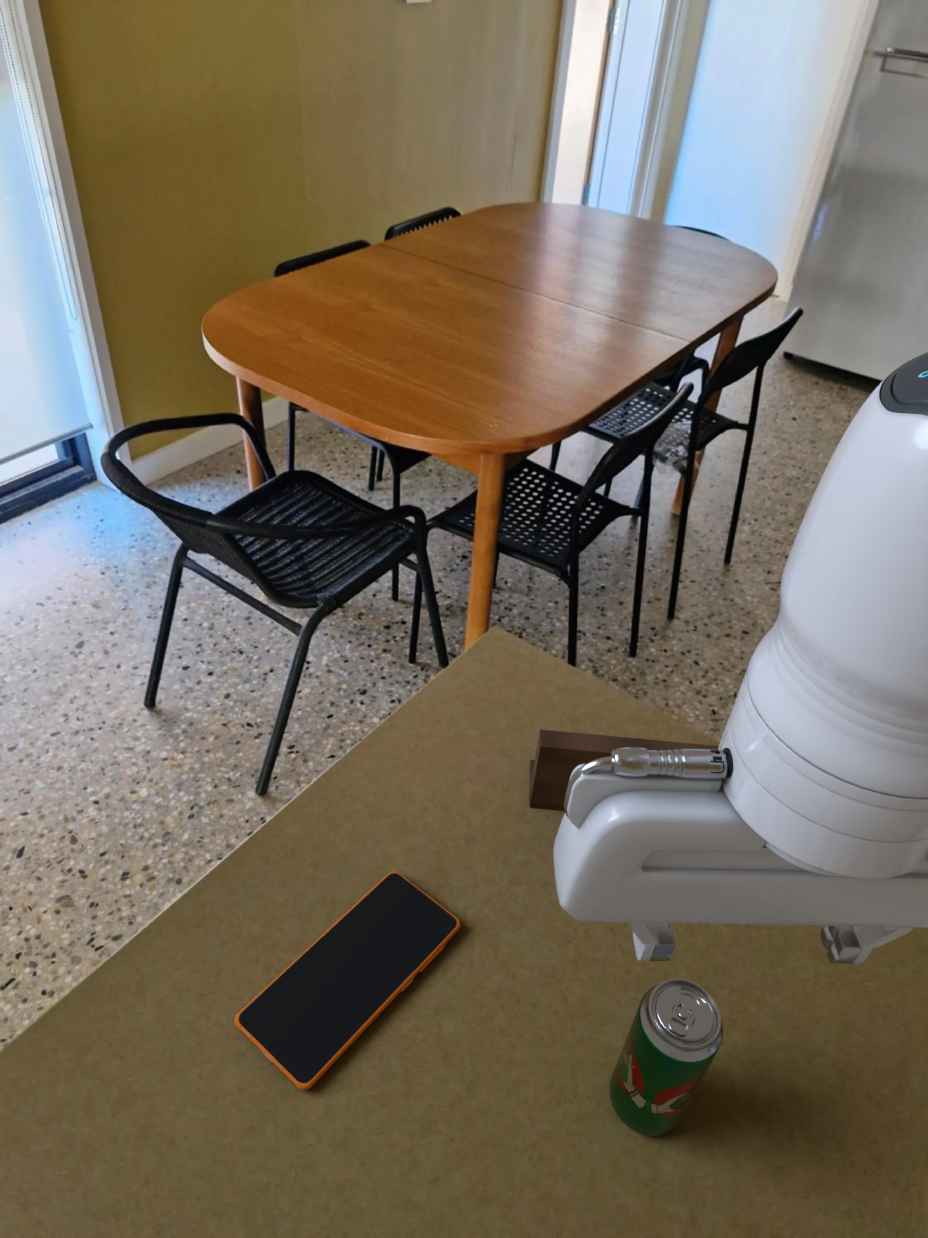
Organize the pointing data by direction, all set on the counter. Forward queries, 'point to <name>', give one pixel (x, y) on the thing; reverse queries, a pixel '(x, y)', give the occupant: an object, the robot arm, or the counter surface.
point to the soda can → (665, 1056)
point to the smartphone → (346, 979)
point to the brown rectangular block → (577, 760)
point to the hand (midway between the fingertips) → (744, 949)
